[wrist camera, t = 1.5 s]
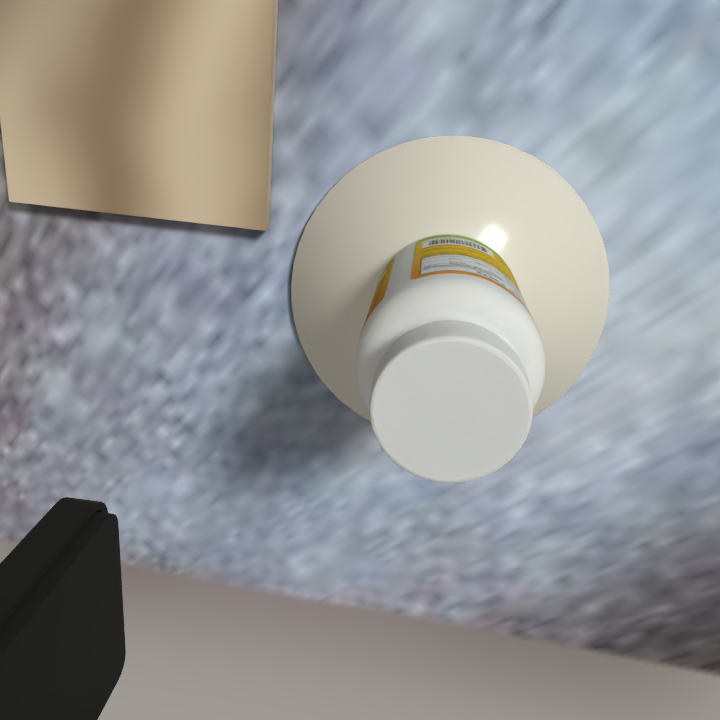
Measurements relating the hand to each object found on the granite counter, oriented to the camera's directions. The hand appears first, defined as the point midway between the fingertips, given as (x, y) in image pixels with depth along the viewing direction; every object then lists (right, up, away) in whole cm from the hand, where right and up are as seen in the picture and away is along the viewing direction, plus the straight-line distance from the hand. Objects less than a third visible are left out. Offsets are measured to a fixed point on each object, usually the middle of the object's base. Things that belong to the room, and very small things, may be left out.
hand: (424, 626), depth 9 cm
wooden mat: (-9, +14, +14) cm, 22 cm away
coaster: (+2, +6, +16) cm, 17 cm away
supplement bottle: (+2, +6, +16) cm, 17 cm away
